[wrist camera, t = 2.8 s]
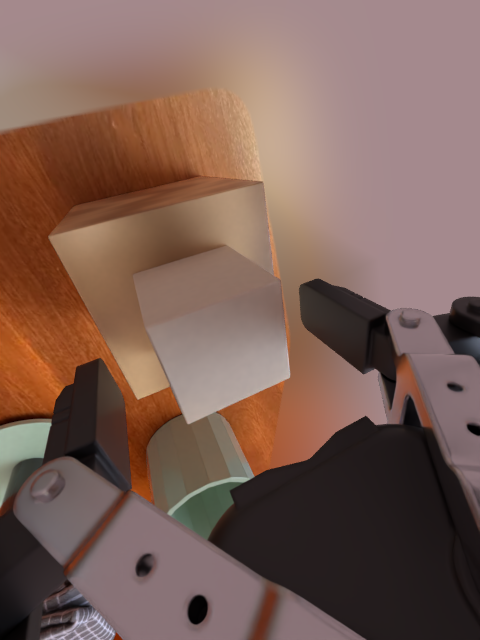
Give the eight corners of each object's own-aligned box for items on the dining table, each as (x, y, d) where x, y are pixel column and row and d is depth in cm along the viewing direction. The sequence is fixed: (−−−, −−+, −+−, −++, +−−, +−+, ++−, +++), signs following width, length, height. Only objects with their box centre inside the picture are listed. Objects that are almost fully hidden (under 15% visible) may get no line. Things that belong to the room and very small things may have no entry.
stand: (201, 175, 20) (263, 181, 12) (225, 284, 25) (281, 339, 17) (73, 205, 18) (47, 236, 10) (126, 318, 23) (137, 400, 15)
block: (227, 244, 13) (281, 279, 9) (243, 322, 15) (291, 378, 11) (131, 273, 12) (144, 328, 8) (164, 353, 14) (187, 425, 10)
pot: (220, 397, 31) (251, 461, 25) (236, 447, 37) (265, 512, 30) (132, 436, 29) (139, 520, 22) (162, 484, 34) (176, 564, 27)
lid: (68, 394, 24) (56, 465, 18) (119, 463, 30) (122, 533, 24) (-83, 452, 21) (-152, 557, 16) (6, 516, 27) (-21, 609, 22)
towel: (-112, 616, 27) (-179, 753, 21) (91, 526, 33) (87, 612, 26) (-27, 654, 35) (-57, 763, 28) (126, 577, 40) (129, 653, 34)
